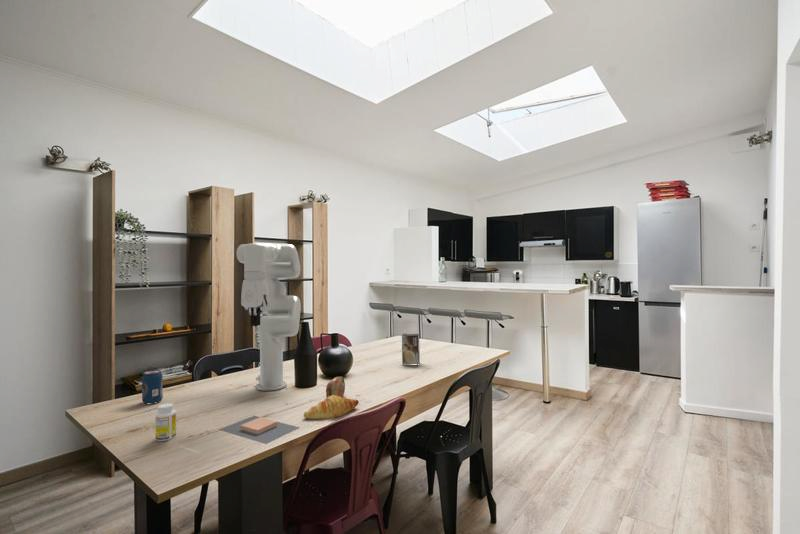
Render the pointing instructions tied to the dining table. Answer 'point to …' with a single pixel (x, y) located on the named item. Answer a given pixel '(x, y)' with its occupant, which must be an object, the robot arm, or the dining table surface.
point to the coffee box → (410, 349)
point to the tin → (336, 387)
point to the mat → (263, 437)
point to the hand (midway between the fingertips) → (255, 325)
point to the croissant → (331, 408)
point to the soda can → (152, 386)
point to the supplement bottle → (165, 422)
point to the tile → (258, 425)
